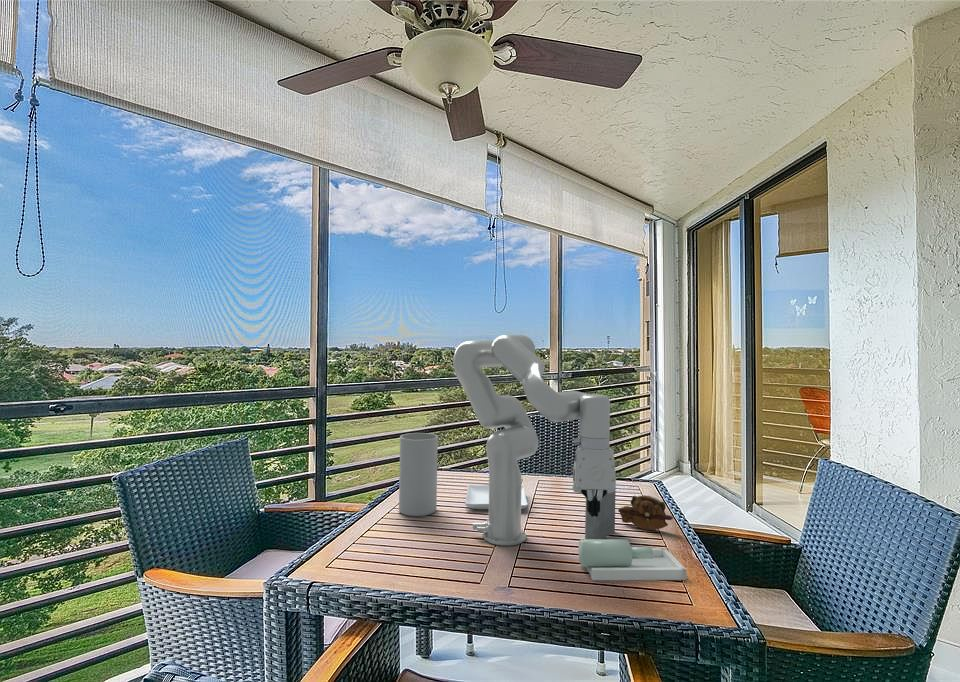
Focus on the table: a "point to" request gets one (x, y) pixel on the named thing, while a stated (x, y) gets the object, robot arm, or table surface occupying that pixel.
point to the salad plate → (485, 497)
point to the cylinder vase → (418, 474)
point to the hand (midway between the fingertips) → (593, 514)
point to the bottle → (610, 553)
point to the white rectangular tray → (644, 569)
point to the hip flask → (601, 518)
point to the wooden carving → (645, 513)
